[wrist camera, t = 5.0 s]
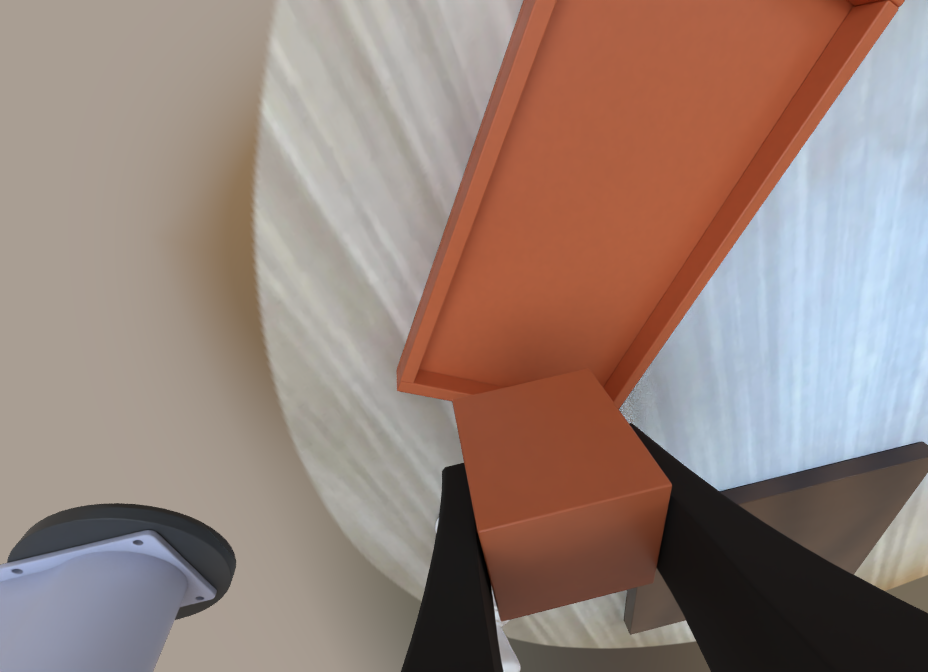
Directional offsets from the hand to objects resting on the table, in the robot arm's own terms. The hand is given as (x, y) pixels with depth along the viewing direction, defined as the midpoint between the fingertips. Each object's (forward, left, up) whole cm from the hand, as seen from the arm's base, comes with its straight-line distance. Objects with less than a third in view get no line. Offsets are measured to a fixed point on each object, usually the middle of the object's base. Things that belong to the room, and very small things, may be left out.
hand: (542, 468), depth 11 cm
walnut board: (+15, -27, -8) cm, 32 cm away
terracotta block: (0, 0, -1) cm, 1 cm away
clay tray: (+5, +4, -8) cm, 11 cm away
